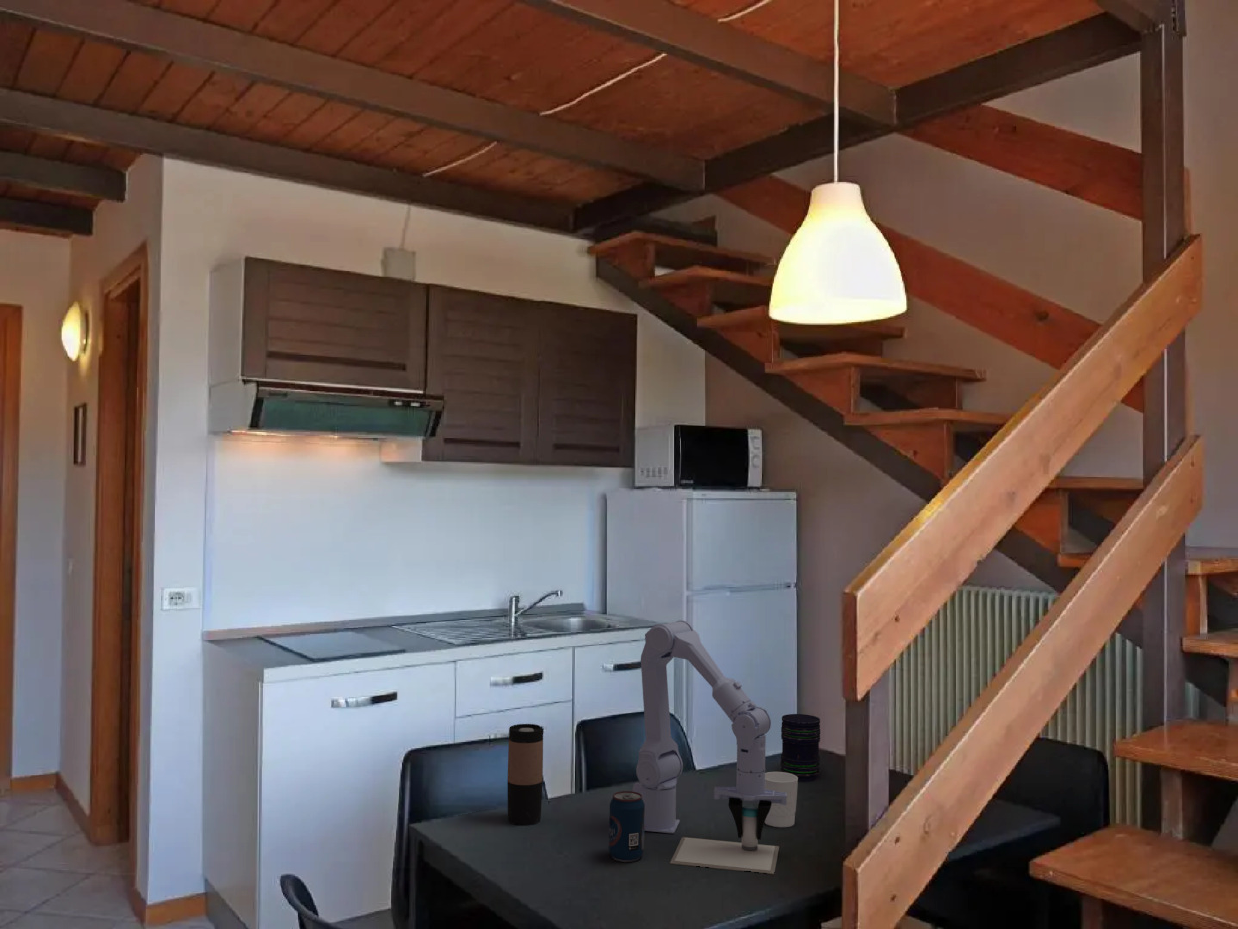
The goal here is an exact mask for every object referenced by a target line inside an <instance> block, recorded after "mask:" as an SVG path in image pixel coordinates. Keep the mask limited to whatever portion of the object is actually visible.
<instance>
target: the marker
mask: <svg viewBox="0 0 1238 929" xmlns="http://www.w3.org/2000/svg"><path fill="white" fill-rule="evenodd" d="M757 830H758V806H754V805H745V806H742V838H741V843H742V849H743V850H746V851H756V850H757V849H758V844H759V840H758V839H757Z"/></svg>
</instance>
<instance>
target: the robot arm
mask: <svg viewBox="0 0 1238 929" xmlns="http://www.w3.org/2000/svg"><path fill="white" fill-rule="evenodd" d="M644 640H645V643H644V646H643V649H642V652H641V655H640V667H641V669H640V671H641V686H642V700H643V713H644V714H643V715H644V717H643V718H644V729H645V741H644V742H643V744H642V746H641V747H640V749H639V750H638V762H637V764H636V768H635V771H636V772H635V773H636V777H637V780H638V781H639V782H635V783H633V787H632V791H633V792H637V793H640V794H641V795H642V800H643V802H644V804H645V817H644V832H655V833H656V832H657V833H664V834H675V832H676V830H677V828H678V826H679V824H680V821H681V820H680V819H676V818H677V817H676V815H677V814H676V812H677V811H676V810H677V808H676V807H677V783H678V778H679V777H680V776H681V774H682V772H683V769H684V768H683V767H684V763H683V759H682V757H681V755H680V752H679V746H678V744H677V742H676V741H675V740H674V739H673V738H672V734H671V733H672V732H671V729H672V728H671V718H670V716H671V715H670V701H669V688H668V670H667V665H668V664H669V663H670V662H671V661H672V660H673V659H674V658H676V659H683V660H686V661H688V662H689V663H690V664H691V665H692V667H694V668H695V669H696V671H697V672H698V673H699V674H700V676H702V678H703V679H704V680H705V681H706V682H707V683H708V685H710V687H711V688H712V690H711V691H712V693H711V696H712V698H713V700H715V702H716V703H717V705H719V707H720V708H721V710H722V711H723V712H724V713H725V715H726V716H727V717H728V718H729V720H730V721H731V723H732V724H731V730H732V733H733V734H734V736H735V738H736V781H735V782H736V784H735V785H736V786H715V787H714V790H713V799H714V800H720V799H723V800H728V804H727V805H728V808H729V810H730V812H731V814H732V817H733V819H734V823H735V827H736V831H737V832H736V833H737V839H738V838H740V839H742V807H743V803H744V802H745V801H746V802H757V803H758V805H757V808H758V830H757V839H758V841H759V840H762V833H763V828H764V825H765V823H764V822H765V820H766V817H767V815H768V813H769V811H770V809H771V804H772V803H778V804H781V805H786V804H787V793H783V792H777V791H771V790H766V789H765V773H766V743H767V742H766V739H767V738H766V736H767V735H766V734H767V733H768V732H769V731H770V730H771V727H772V726H771V725H772V720H771V717H770V715H769V713H768V711H767V710H766V709H765V708H763V707H762V706H758V705H756V703H755V702H754V701H752V700H751V699H750V697H749V696H748V695H747V694H746V693H745V692H744V690H743V689H742V684H741V683H740V681H736V680H735V679H734V678H728V677H726V676H725V675H724V673H723V672H722V670H721V669H720V668H719V666H718V665H717V663H716V661H715V660H714V659H713V658H712V656H711V655H710V653H709V652H708V651H707V649H706V647H705V646H704V644H702V642H701V638H700V634H699V633H698V632H697V631H696V630H694V628H693V626H692V625H691V623H689V622H688V621H686V620H683V619H681V620H677V621H674V622H667V623H658V624H654V625H653V626H652V627H651V628H650V629H648V630H647V632H645V634H644Z"/></svg>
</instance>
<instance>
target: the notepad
mask: <svg viewBox="0 0 1238 929" xmlns="http://www.w3.org/2000/svg"><path fill="white" fill-rule="evenodd" d="M779 851H780V846H779V845H772V844H771V845H770V844H761V843H758V849H757V850H756V851H746V850H743V849H742V842H740V841H739V842H738V841H729V840H716V839H709V838H708V839H706V838H698V837H697V838H696V837H686V836H682V837H681V838H680V841H679V843H678V845H677V847H676V850H675V851H674V854H673V855H672V858H671V860H670V862H669V864H670V865H678V866H679V865H680V866H688V867H696V866H700V868H705V867H709V868H708V869H715V870H717V869H718V870H725V871H726V870H727V871H735V872H744V871H751V872H750V873H754V872H759V873H758V874H763V873H767V874H766V875H775V873H774V872H776V867H777V861H778V856H779Z"/></svg>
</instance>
